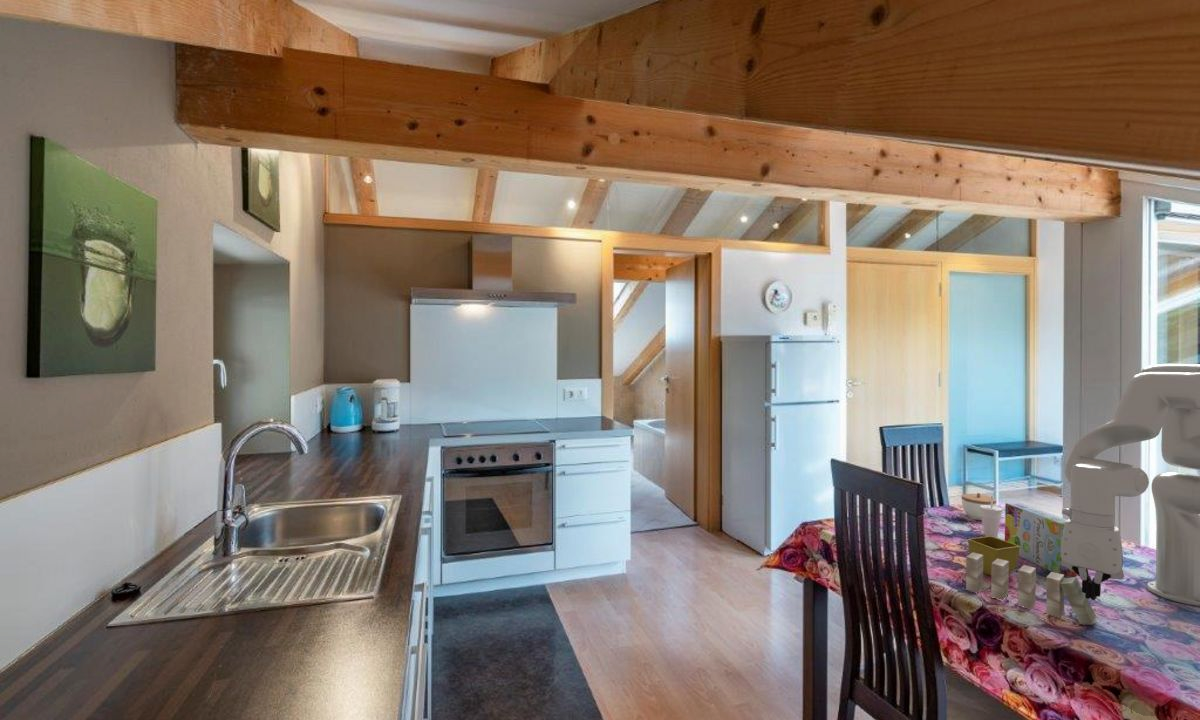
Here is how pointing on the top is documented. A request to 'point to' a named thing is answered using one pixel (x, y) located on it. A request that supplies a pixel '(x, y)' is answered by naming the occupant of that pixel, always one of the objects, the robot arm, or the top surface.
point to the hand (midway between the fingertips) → (1091, 597)
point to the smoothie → (991, 519)
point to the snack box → (1036, 536)
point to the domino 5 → (1078, 601)
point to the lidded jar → (975, 504)
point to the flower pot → (994, 551)
